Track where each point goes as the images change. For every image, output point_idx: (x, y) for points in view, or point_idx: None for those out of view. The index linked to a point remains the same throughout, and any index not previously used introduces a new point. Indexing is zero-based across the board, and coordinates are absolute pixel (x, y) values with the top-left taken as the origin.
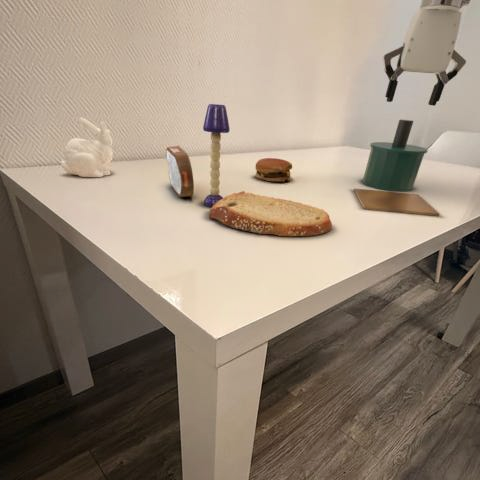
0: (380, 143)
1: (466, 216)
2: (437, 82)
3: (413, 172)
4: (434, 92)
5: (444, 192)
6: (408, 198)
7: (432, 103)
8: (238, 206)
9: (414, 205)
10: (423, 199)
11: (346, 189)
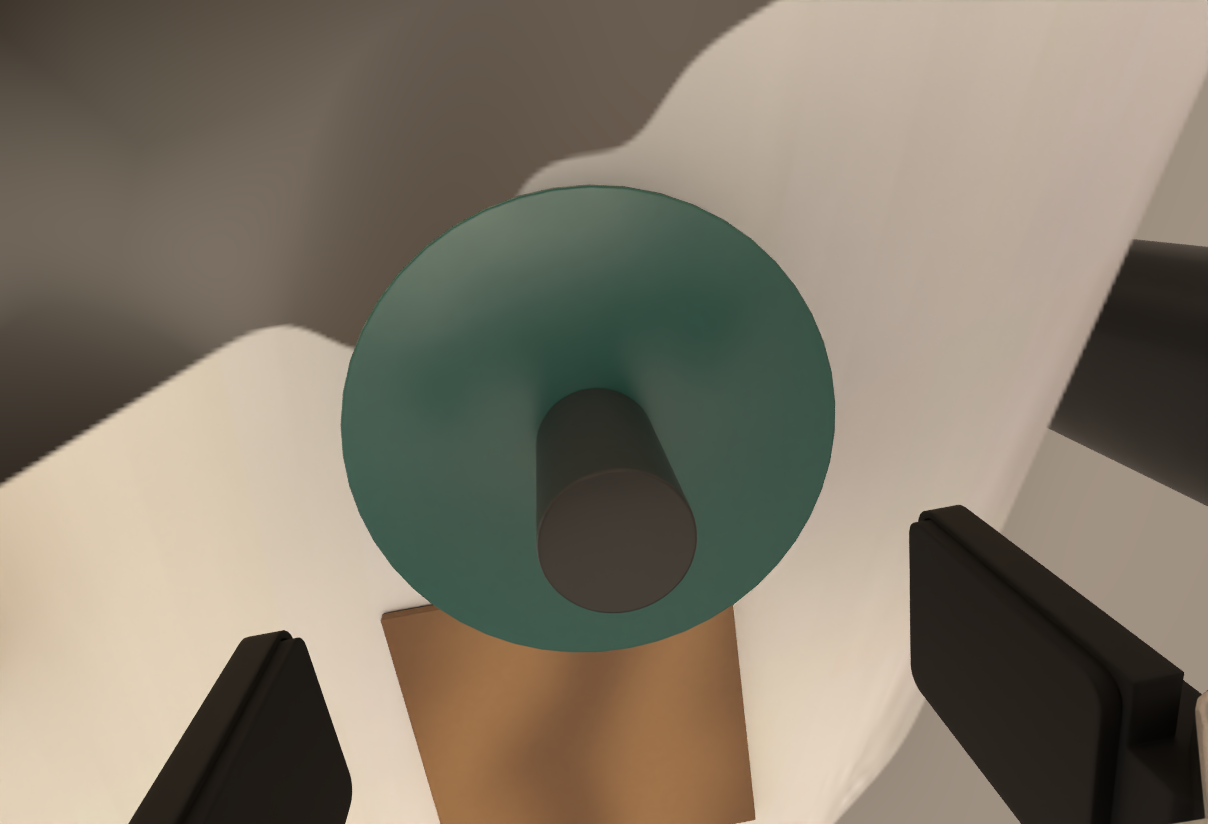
0: (430, 360)
1: (870, 758)
2: (1151, 778)
3: None
4: (1004, 716)
5: (916, 368)
6: (662, 666)
7: (917, 686)
8: None
9: (671, 763)
10: (735, 645)
11: (340, 608)
